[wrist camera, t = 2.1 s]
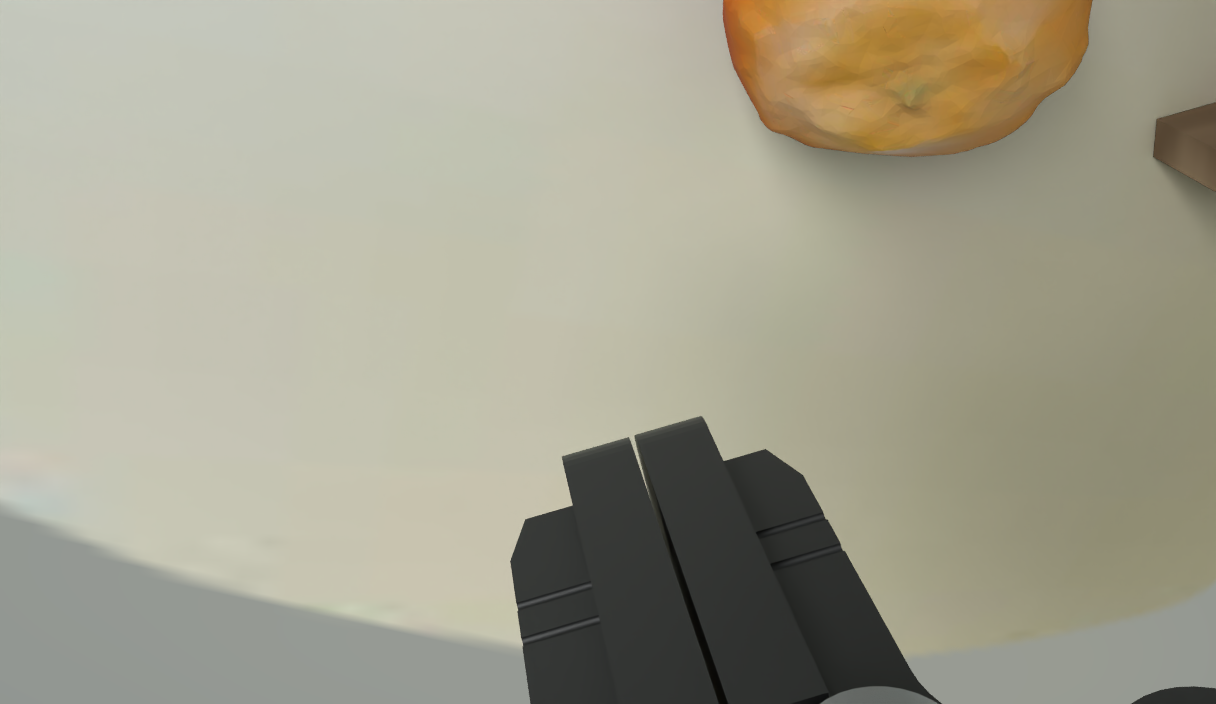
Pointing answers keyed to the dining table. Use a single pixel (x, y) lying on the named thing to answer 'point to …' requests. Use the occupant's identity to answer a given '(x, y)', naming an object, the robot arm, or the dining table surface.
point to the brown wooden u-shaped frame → (1189, 143)
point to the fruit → (903, 68)
